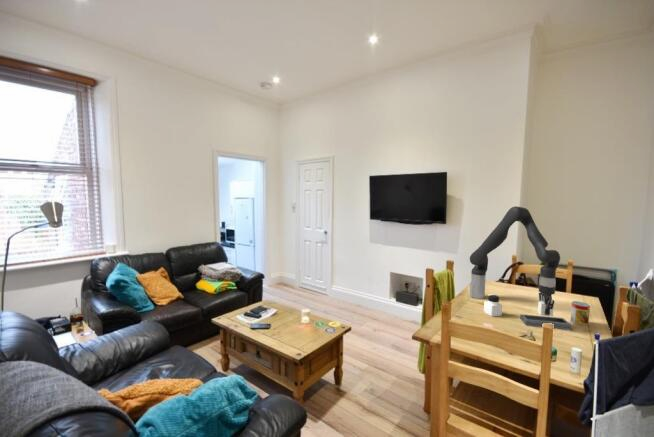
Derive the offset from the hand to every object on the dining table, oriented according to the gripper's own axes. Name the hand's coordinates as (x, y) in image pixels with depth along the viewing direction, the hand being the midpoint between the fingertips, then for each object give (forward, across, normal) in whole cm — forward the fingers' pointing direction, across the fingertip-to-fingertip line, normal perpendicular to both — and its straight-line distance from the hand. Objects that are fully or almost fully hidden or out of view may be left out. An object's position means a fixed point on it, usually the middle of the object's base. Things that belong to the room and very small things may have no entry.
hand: (545, 313), depth 168 cm
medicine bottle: (+7, -8, -25) cm, 27 cm away
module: (+1, 0, 0) cm, 1 cm away
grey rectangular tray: (+7, 0, 0) cm, 7 cm away
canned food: (+7, -6, +20) cm, 22 cm away
